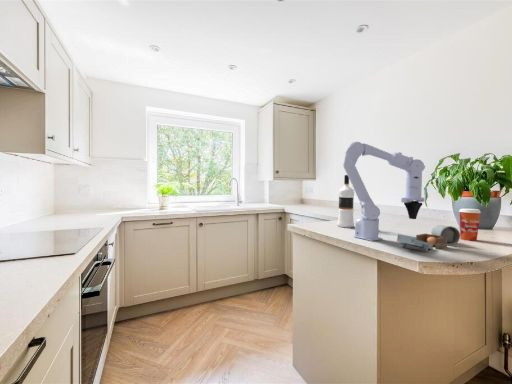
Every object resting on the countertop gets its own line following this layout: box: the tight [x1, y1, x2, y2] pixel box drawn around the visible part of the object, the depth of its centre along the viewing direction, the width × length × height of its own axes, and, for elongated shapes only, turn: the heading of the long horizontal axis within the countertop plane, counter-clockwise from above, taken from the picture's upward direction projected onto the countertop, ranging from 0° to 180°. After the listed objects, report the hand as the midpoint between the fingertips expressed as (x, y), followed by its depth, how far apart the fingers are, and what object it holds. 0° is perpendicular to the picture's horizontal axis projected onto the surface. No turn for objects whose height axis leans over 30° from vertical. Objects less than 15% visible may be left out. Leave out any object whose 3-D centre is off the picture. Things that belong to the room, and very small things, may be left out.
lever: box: [396, 233, 434, 250], centre depth 95 cm, size 12×14×3 cm
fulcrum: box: [402, 243, 429, 253], centre depth 93 cm, size 8×2×3 cm, turn 30°
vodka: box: [336, 174, 355, 229], centre depth 142 cm, size 9×9×30 cm
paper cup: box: [458, 208, 482, 242], centre depth 111 cm, size 8×8×14 cm
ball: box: [427, 237, 435, 247], centre depth 99 cm, size 4×4×4 cm
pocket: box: [415, 233, 448, 250], centre depth 99 cm, size 8×7×4 cm
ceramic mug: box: [430, 224, 461, 246], centre depth 105 cm, size 11×8×8 cm
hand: (412, 218), depth 106 cm, fingers closed
